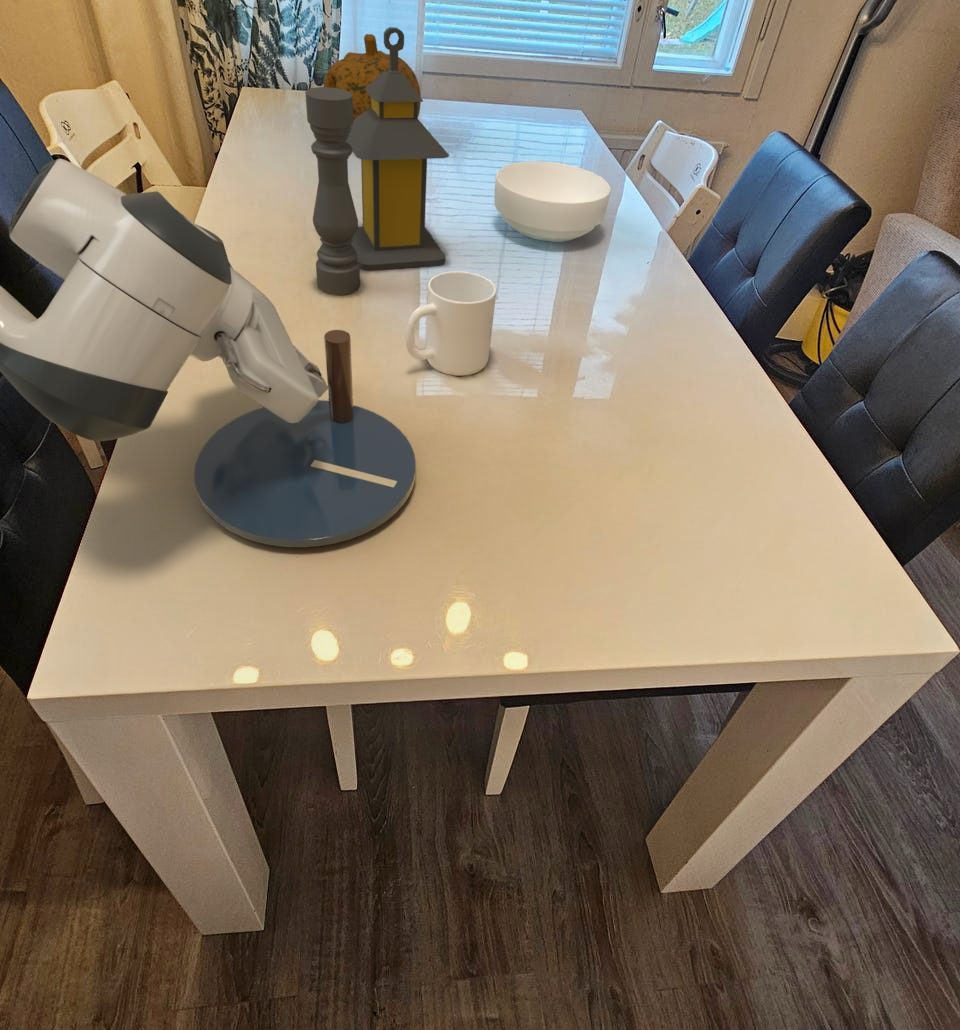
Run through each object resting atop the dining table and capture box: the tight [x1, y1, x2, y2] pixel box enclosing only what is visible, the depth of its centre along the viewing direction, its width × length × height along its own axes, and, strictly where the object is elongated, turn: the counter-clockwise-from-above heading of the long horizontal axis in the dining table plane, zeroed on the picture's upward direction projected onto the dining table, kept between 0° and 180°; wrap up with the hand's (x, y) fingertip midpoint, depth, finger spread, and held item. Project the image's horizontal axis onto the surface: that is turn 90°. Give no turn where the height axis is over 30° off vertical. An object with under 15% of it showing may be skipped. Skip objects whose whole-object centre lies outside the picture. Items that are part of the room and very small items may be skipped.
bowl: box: [493, 160, 612, 243], centre depth 122 cm, size 20×20×8 cm
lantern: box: [347, 26, 450, 272], centre depth 104 cm, size 14×14×30 cm
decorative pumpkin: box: [323, 33, 422, 120], centre depth 145 cm, size 20×21×20 cm
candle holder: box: [304, 86, 361, 296], centre depth 95 cm, size 6×6×25 cm
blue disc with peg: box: [193, 329, 417, 548], centre depth 69 cm, size 22×22×11 cm
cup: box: [405, 270, 497, 377], centre depth 88 cm, size 8×12×10 cm
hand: (319, 383), depth 75 cm, fingers closed
